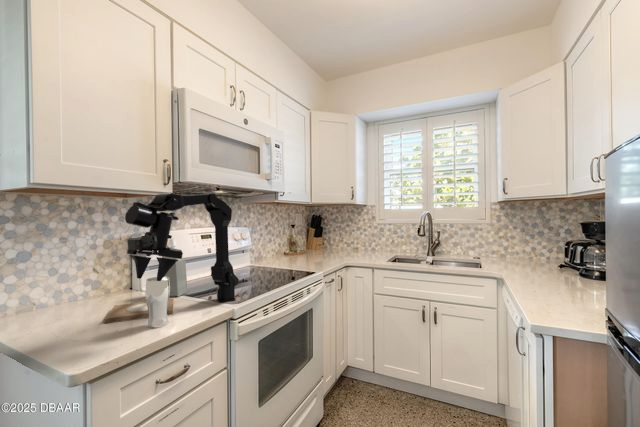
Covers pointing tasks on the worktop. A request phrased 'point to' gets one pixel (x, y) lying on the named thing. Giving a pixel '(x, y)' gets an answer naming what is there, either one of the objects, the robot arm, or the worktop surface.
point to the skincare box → (178, 278)
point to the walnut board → (132, 311)
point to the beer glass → (157, 301)
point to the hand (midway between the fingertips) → (148, 279)
